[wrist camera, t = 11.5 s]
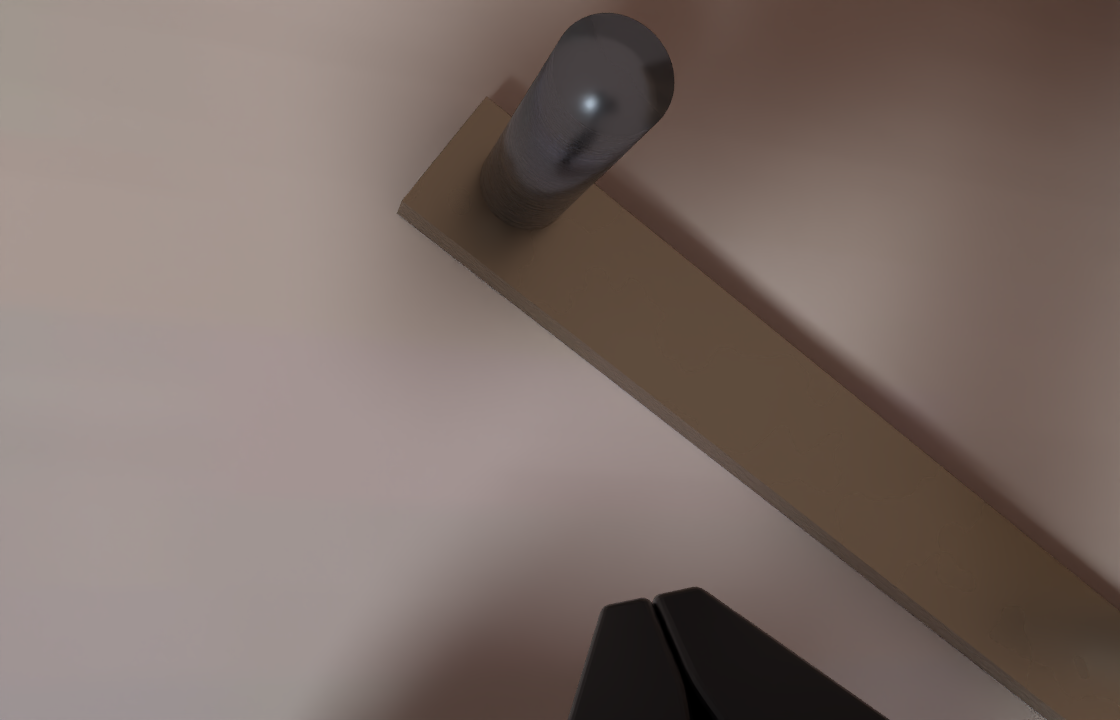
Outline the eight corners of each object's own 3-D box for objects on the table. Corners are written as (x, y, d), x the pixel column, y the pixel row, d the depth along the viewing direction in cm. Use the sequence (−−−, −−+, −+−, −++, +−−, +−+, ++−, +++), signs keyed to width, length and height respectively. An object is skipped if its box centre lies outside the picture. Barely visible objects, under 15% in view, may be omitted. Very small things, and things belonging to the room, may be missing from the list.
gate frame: (1295, 662, 26) (2071, 805, 15) (1213, 849, 25) (1998, 1165, 14) (541, 34, 23) (800, -420, 11) (397, 213, 21) (524, -95, 10)
